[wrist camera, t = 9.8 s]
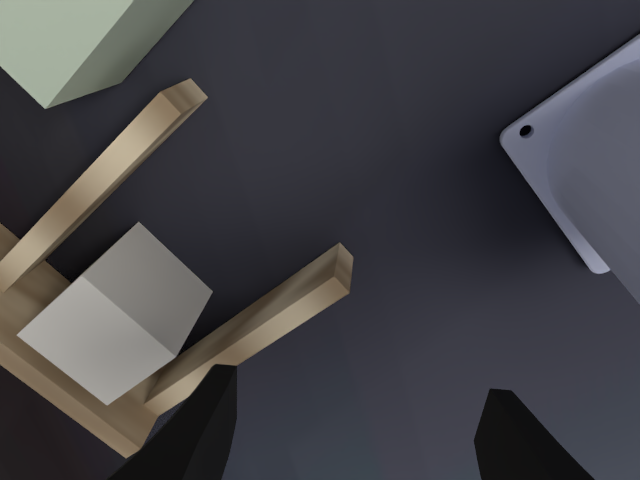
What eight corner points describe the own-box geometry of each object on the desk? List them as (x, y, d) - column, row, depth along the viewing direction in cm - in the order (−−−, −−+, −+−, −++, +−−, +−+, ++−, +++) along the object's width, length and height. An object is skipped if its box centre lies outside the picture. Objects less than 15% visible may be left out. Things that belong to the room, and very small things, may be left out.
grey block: (139, 220, 23) (81, 275, 18) (213, 290, 24) (176, 356, 20) (81, 274, 25) (16, 335, 20) (153, 335, 26) (107, 405, 22)
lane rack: (-8, -140, 16) (-150, -188, 12) (353, 257, 22) (346, 322, 18) (-155, 116, 22) (-291, 148, 17) (166, 383, 27) (125, 458, 23)
